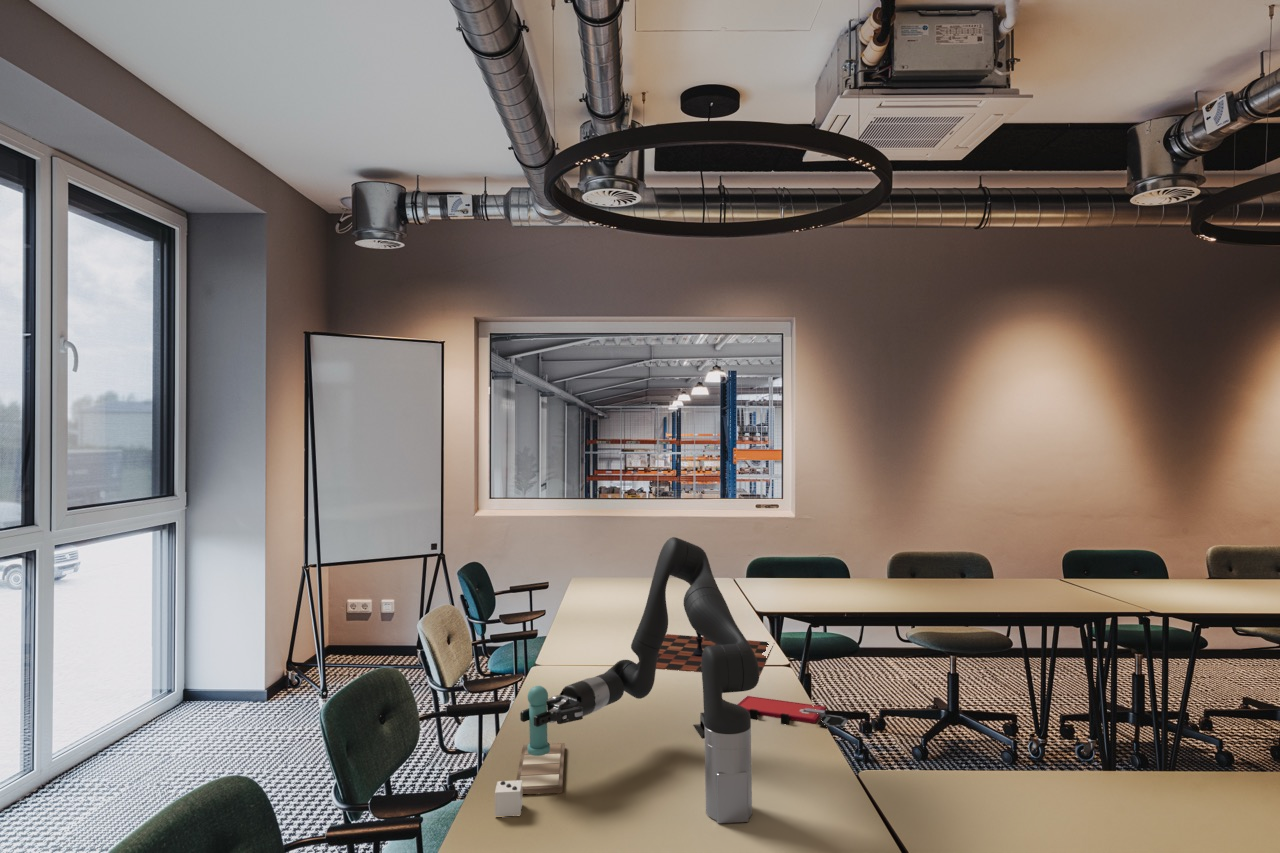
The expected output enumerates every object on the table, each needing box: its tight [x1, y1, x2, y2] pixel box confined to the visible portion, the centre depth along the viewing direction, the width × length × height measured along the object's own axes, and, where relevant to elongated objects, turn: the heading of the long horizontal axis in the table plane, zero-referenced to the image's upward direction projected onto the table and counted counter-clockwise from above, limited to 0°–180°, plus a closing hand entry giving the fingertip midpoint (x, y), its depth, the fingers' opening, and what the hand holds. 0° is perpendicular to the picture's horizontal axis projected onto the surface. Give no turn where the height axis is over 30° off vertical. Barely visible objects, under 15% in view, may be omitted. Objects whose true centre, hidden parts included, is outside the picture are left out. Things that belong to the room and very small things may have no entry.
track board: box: [515, 742, 566, 795], centre depth 176 cm, size 24×10×1 cm, turn 4°
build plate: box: [692, 712, 705, 740], centre depth 198 cm, size 12×7×5 cm, turn 10°
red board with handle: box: [736, 695, 851, 729], centre depth 208 cm, size 30×3×15 cm
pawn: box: [527, 685, 551, 756], centre depth 168 cm, size 5×5×14 cm
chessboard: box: [636, 631, 769, 677], centre depth 266 cm, size 40×40×11 cm
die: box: [494, 780, 523, 817], centre depth 157 cm, size 5×5×6 cm
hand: (528, 719), depth 166 cm, fingers closed on pawn, 3 cm apart
